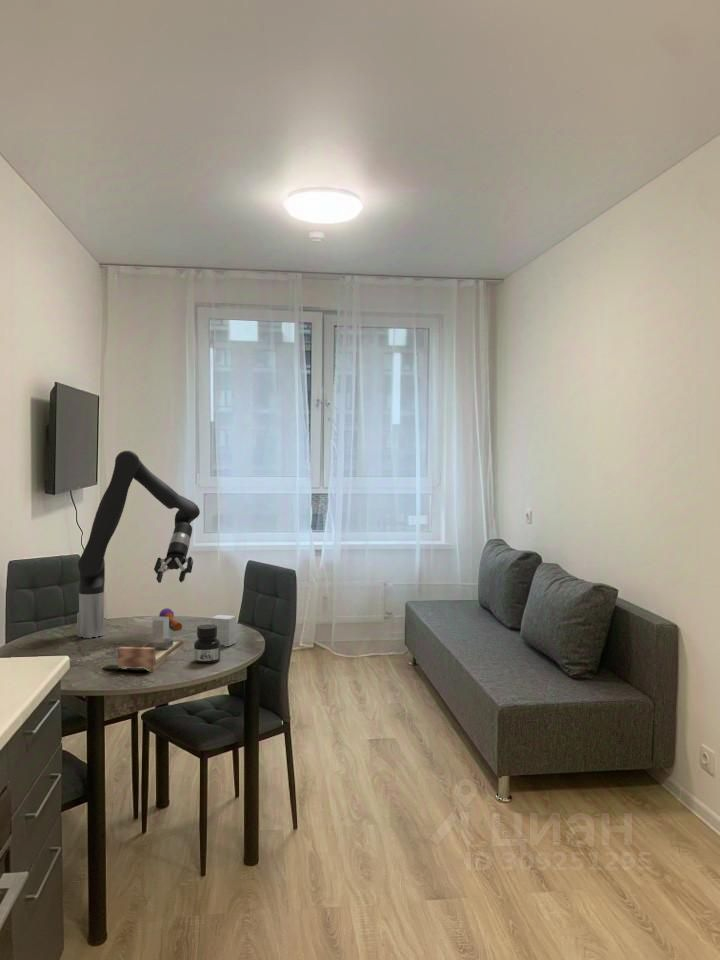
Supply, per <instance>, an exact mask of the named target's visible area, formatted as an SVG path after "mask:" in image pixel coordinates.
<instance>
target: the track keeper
mask: <svg viewBox="0 0 720 960" xmlns="http://www.w3.org/2000/svg"><path fill="white" fill-rule="evenodd" d="M148 642H149V647H151V648H156V649H169V648H170V647H171V646H173V642H174V638H170V622H169V617H159V616H157V617H155V618H154V619H152V639H150V641H148Z"/></svg>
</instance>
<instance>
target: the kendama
mask: <svg viewBox="0 0 720 960" xmlns="http://www.w3.org/2000/svg"><path fill="white" fill-rule="evenodd" d="M174 615H175V614H174V611H173V610H172V609H171V608H167V607H166V608H163V609H162V610H160V611H159V614H158V617H169V623H171V625H172V628H173V629H174V630H175V631H181V629H182V628H183V624H182V623H181V622H179V621H177V620H175V619H174V617H175V616H174Z"/></svg>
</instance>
